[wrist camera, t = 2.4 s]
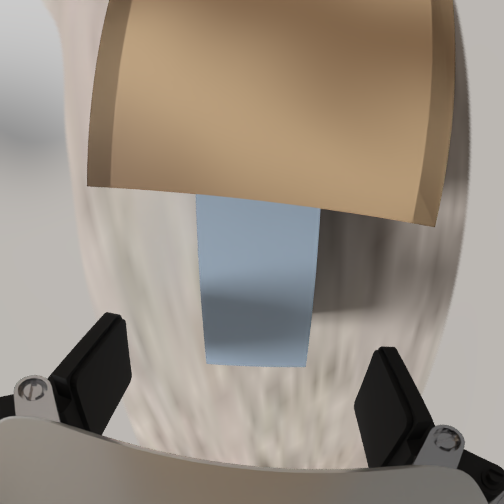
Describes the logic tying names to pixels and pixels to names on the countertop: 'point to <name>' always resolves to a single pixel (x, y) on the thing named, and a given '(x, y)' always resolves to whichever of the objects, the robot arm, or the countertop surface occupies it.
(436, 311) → the countertop surface
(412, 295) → the countertop surface
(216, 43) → the cubby
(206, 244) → the bar
